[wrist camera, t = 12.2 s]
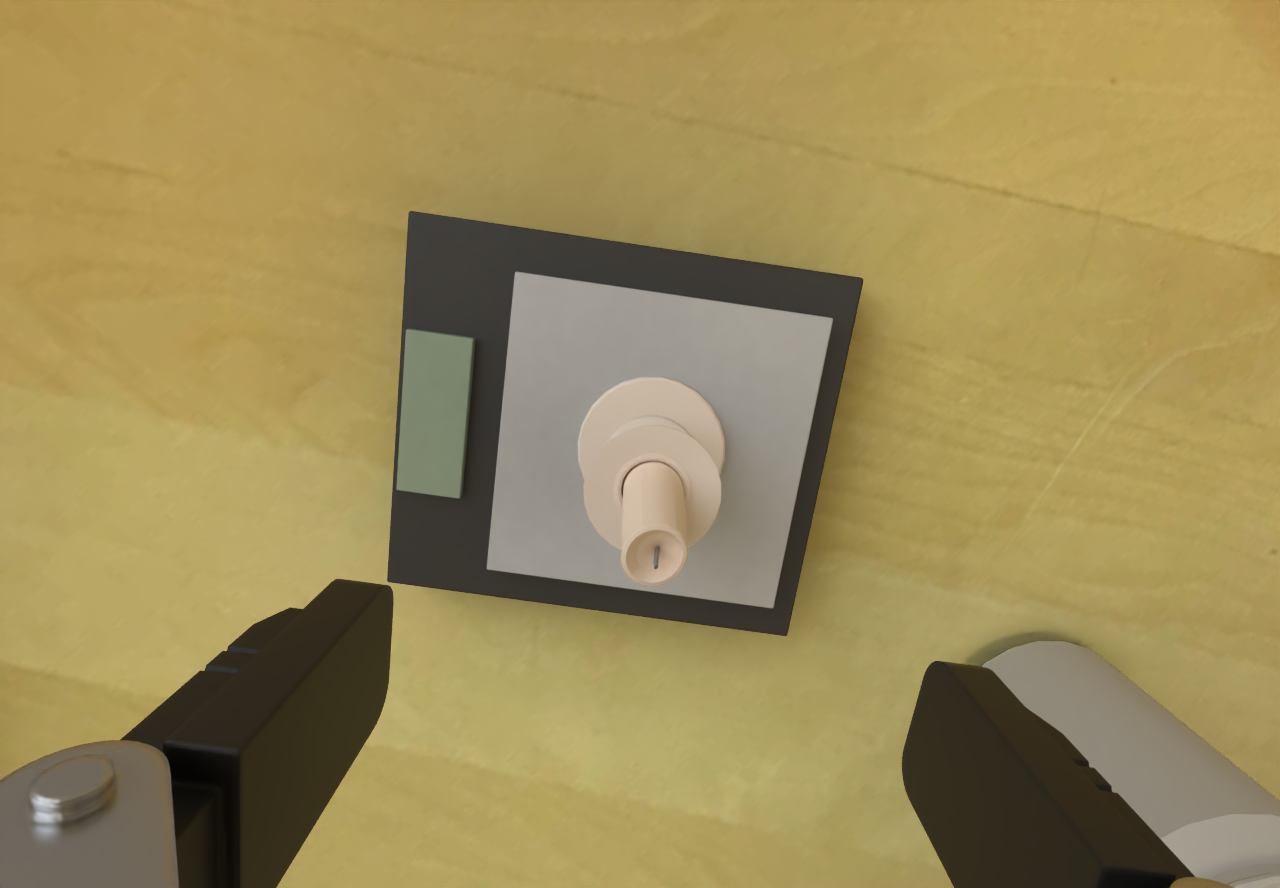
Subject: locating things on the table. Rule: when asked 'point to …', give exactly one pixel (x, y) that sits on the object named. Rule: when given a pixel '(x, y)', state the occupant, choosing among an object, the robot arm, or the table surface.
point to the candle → (651, 473)
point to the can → (1152, 762)
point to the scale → (572, 382)
